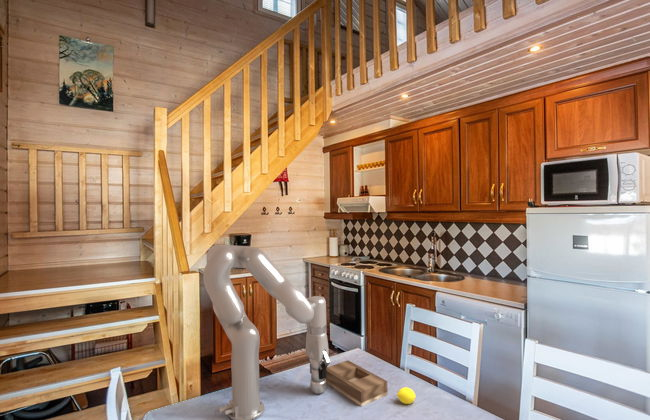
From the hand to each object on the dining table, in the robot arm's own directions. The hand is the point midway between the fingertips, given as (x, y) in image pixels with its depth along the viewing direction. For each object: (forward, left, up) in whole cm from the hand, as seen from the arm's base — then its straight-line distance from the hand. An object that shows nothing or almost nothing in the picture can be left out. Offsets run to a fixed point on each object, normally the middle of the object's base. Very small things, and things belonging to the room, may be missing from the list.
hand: (318, 375), depth 138 cm
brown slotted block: (+13, -6, -6) cm, 16 cm away
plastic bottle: (0, 0, -7) cm, 7 cm away
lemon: (+21, -26, -7) cm, 34 cm away
